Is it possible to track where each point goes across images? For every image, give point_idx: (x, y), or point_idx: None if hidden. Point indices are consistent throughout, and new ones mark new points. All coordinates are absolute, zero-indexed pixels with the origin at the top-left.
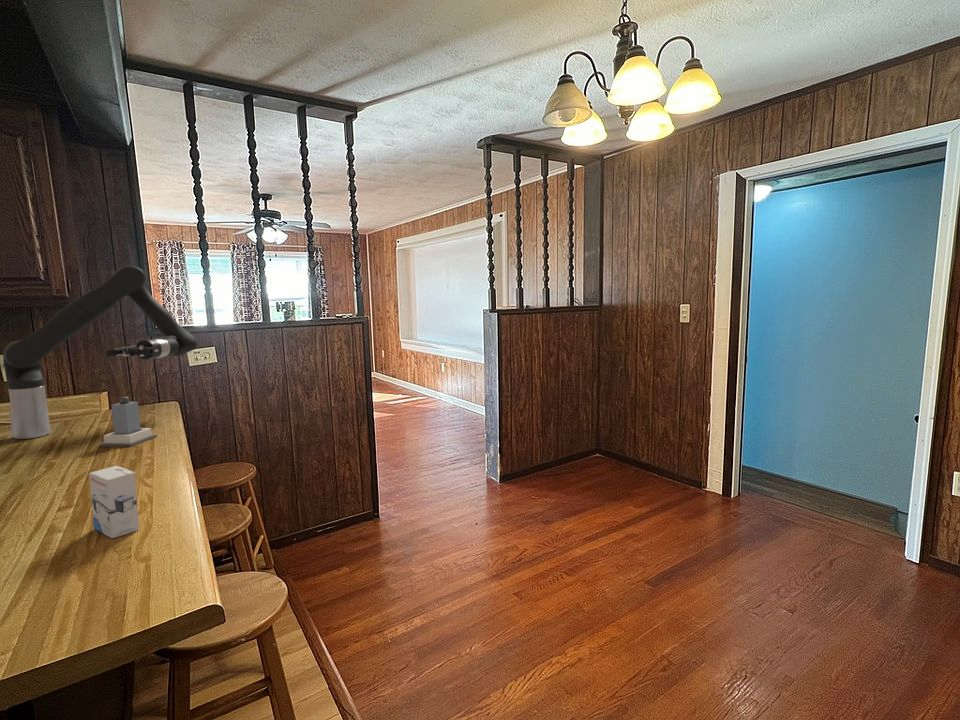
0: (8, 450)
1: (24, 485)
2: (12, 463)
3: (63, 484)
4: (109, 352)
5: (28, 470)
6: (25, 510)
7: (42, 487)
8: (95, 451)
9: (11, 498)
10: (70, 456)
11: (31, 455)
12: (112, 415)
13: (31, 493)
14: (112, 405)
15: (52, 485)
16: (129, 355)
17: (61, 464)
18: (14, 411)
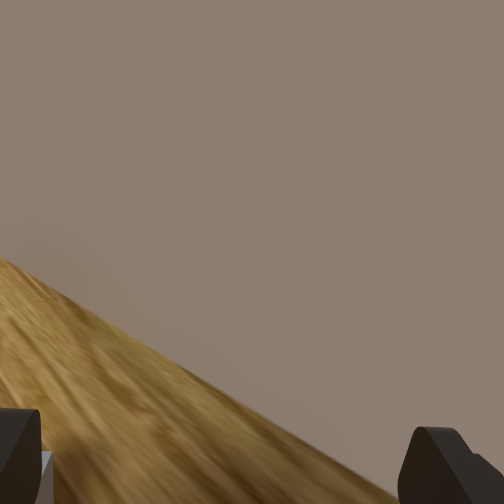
0: (398, 498)
1: (80, 322)
2: (237, 406)
3: (6, 321)
4: (418, 462)
5: (146, 372)
6: (4, 272)
7: (38, 315)
8: (77, 490)
9: (58, 294)
10: (127, 447)
11: (260, 456)
12: (52, 492)
13: (39, 302)
14: (45, 453)
15: (25, 319)
16: (40, 471)
17: (98, 398)
18: None
